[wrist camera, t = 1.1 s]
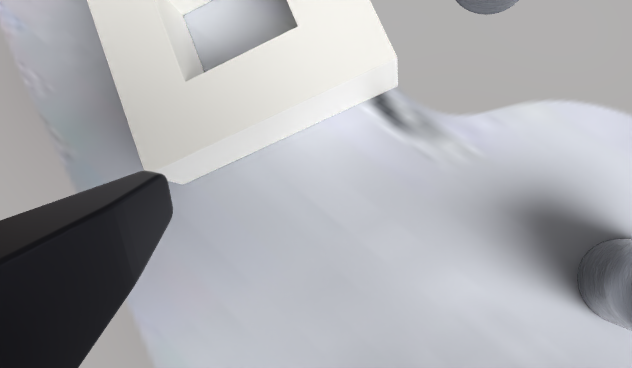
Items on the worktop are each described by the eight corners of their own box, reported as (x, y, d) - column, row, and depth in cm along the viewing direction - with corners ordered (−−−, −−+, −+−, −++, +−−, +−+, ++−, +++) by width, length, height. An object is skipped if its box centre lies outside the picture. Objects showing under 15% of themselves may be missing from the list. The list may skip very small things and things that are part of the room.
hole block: (398, 85, 22) (397, 57, 18) (183, 184, 23) (145, 175, 20) (306, -108, 24) (290, -166, 20) (116, -7, 25) (71, -45, 22)
